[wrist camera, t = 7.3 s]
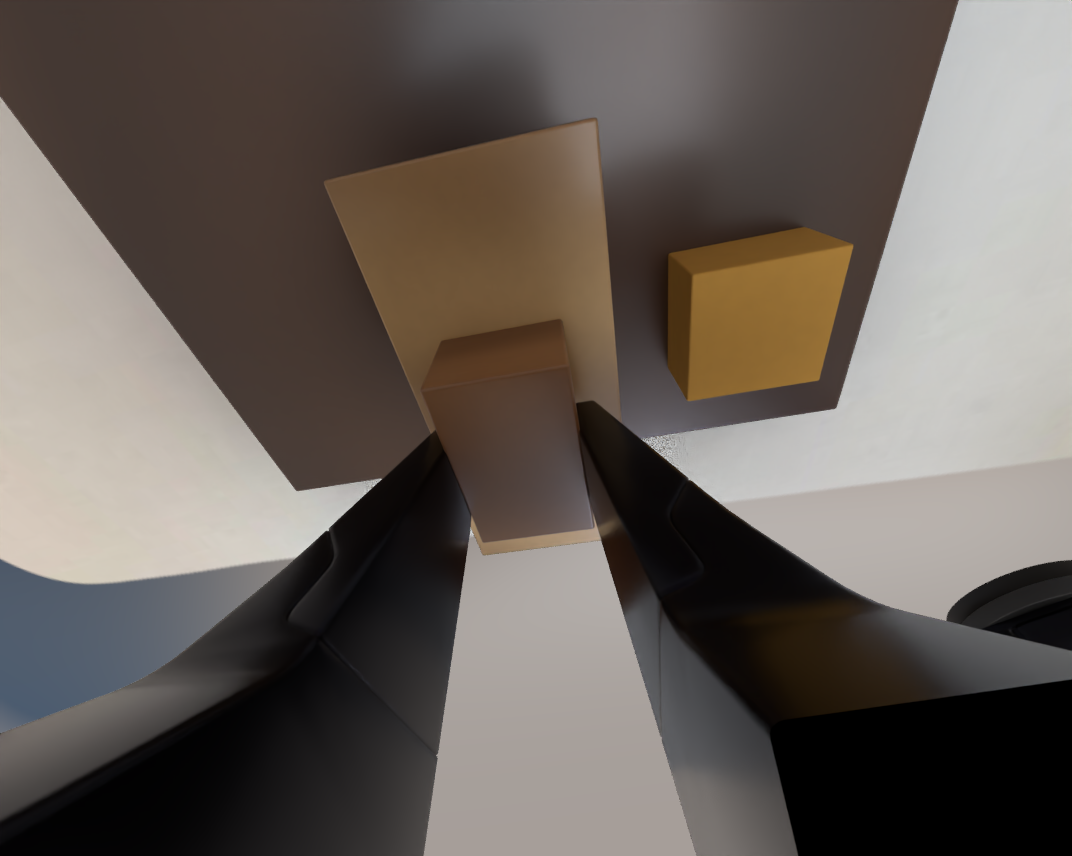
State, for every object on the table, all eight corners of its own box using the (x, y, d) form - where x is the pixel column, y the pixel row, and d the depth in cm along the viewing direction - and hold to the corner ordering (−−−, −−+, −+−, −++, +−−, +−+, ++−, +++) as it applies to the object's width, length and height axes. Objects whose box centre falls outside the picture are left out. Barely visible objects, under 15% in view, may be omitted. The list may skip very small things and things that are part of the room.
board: (1088, -614, 5) (1185, -742, 5) (820, 394, 15) (837, 409, 14) (-146, -167, 7) (-229, -204, 7) (307, 474, 17) (295, 492, 16)
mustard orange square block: (805, 225, 11) (854, 244, 9) (782, 348, 13) (819, 381, 11) (667, 252, 11) (692, 274, 9) (667, 367, 13) (687, 402, 11)
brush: (361, 170, 8) (254, 197, 5) (584, 119, 8) (622, 111, 5) (488, 507, 14) (475, 620, 11) (619, 488, 14) (646, 601, 10)
